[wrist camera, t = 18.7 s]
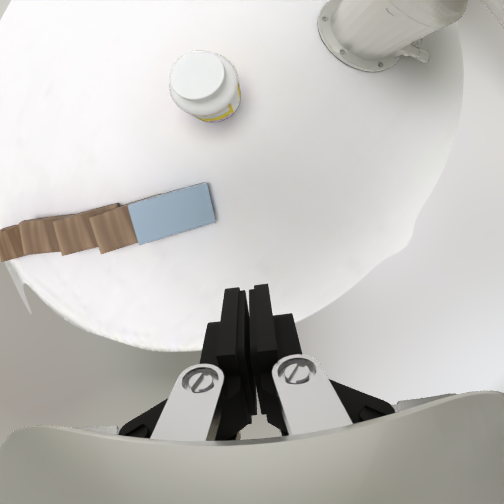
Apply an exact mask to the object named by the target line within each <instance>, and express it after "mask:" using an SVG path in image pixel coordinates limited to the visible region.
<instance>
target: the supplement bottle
mask: <svg viewBox="0 0 504 504" xmlns="http://www.w3.org/2000/svg"><path fill="white" fill-rule="evenodd" d="M170 93H171V96H172V99H173V100H174V102H175V103H176V105H177V106H178V107H179V108H181V109H182V110H184V111H185V112H187V113H189V114H191V115H193V116H195V117H196V118H198V119H200V120H203V121H206V122H219V121H222V120H225V119H227V118H228V117H230V116H231V115H232V114H233V113H234V112H235V111H236V110H237V108H238V106H239V103H240V98H241V93H240V87H239V81H238V75H237V72H236V69H235V68H234V66H233V65H232V63H231V62H230V61H229V60H228V59H226V58H225V57H223V56H221V55H218V54H215V53H211V52H208V51H201V50H199V51H192V52H189V53H187V54H185V55H183V56H182V57H180V58H179V59H178V60H177V61H176V62H175V64H174V65H173V67H172V69H171V73H170Z"/></svg>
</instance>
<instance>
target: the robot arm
mask: <svg viewBox="0 0 504 504" xmlns="http://www.w3.org/2000/svg"><path fill="white" fill-rule="evenodd" d="M480 1H481V2H482V3H483V4H484V5H485V6H486V7H487V8H488V9H489V10H490V12H491V13H492V14H493V15H494V16H495V17H496V19H497V20H498V21H499V22H500V24H501V25H502V26H503V27H504V0H480ZM467 2H468V0H330V1H329V2H328V3H327V4H325V5H324V7H323V8H322V10H321V12H320V14H319V18H318V29H319V33H320V36H321V38H322V40H323V42H324V44H325V45H326V46H327V48H328V49H329V50H330V51H331V52H332V53H333V54H334V55H335V56H336V57H337V58H338V59H340V60H341V61H342V62H344V63H346V64H347V65H349V66H351V67H354V68H356V69H359V70H363V71H369V72H377V71H383V70H385V69H388V68H390V67H392V66H393V65H395V64H396V63H397V62H398V60H399V59H400V57H401V55H404V56H412V57H414V58H415V59H417V60H419V61H422V62H424V63H427V62H428V61H429V58H430V55H429V53H428V52H427V51H425V50H422V49H420V48H418V47H415V46H413V45H412V43H413V42H414V43H417V44H420V43H421V41H422V38H423V37H425V36H427V35H429V34H431V33H433V32H435V31H437V30H439V29H441V28H443V27H446V26H448V25H450V24H452V23H454V22H456V21H457V20H459V19H460V18H461V17H462V15H463V13H464V12H465V9H466V6H467ZM323 20H324V21H323ZM340 53H342V55H341V54H340ZM378 65H379V66H378ZM249 314H250V317H249ZM256 388H257V393H258V398H259V403H260V408H261V413H262V414H266V415H267V421H268V423H270V424H272V425H273V426H275V427H277V428H278V429H279V431H280V436H281V437H273V438H262V439H250V440H240V439H241V432H240V430H241V429H243V428H244V427H245V426H246V425H248V424H251V423H252V418H251V415H257V399H256ZM0 504H504V393H501V392H498V391H476V392H467V393H462V394H445V395H440V396H433V397H427V398H420V399H412V400H404V401H398V403H397V405H390V404H389V403H387V402H385V401H384V400H381V399H378V398H376V397H373V396H370V395H367V394H365V393H362V392H360V391H357V390H355V389H352V388H349V387H347V386H345V385H342V384H339V383H337V382H335V381H332V380H330V379H328V377H327V375H326V374H325V372H324V370H323V368H322V366H321V364H320V363H319V362H318V361H317V360H316V359H314V358H313V357H311V356H307V355H302V351H301V347H300V343H299V339H298V335H297V331H296V327H295V323H294V319H293V315H292V313H290V314H283V315H275V316H273V315H272V308H271V301H270V294H269V287H268V284H262V285H254V289H251V290H249V311H248V305H247V299H246V293H245V290H243V291H240V288H239V287H238V288H229V289H225V293H224V300H223V307H222V314H221V321H220V322H211V323H208V325H207V329H206V334H205V339H204V344H203V349H202V354H201V359H200V364H198V365H194V366H192V367H189V368H187V369H186V370H184V371H183V372H182V373H181V374H180V376H179V377H178V379H177V381H176V383H175V385H174V388H173V390H172V392H171V394H170V396H169V398H168V399H166V400H164V401H163V402H161V403H159V404H158V405H156V406H154V407H153V408H151V409H150V410H148V411H147V412H145V413H143V414H142V415H140V416H138V417H136V418H134V419H133V420H131V421H129V422H128V423H126V424H125V425H124V426H123V427H122V428H121V429H119V428H118V426H105V427H78V428H70V427H62V426H53V425H51V426H50V425H36V426H28V427H24V428H20V429H18V430H15V431H14V432H12V433H11V434H10V435H9V436H8V437H7V439H6V440H5V441H4V443H3V444H2V445H1V447H0Z"/></svg>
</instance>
